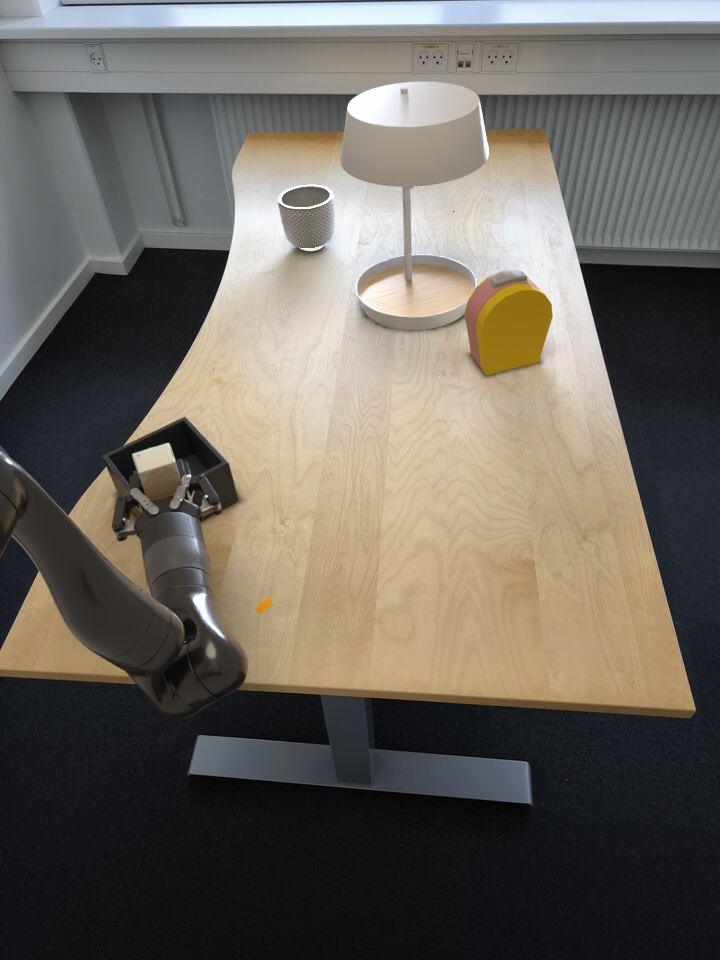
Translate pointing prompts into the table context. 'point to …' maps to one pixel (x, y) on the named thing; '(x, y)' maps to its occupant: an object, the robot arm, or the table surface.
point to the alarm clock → (507, 322)
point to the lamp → (407, 163)
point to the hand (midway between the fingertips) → (158, 469)
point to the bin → (184, 446)
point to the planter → (307, 215)
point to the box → (157, 471)
